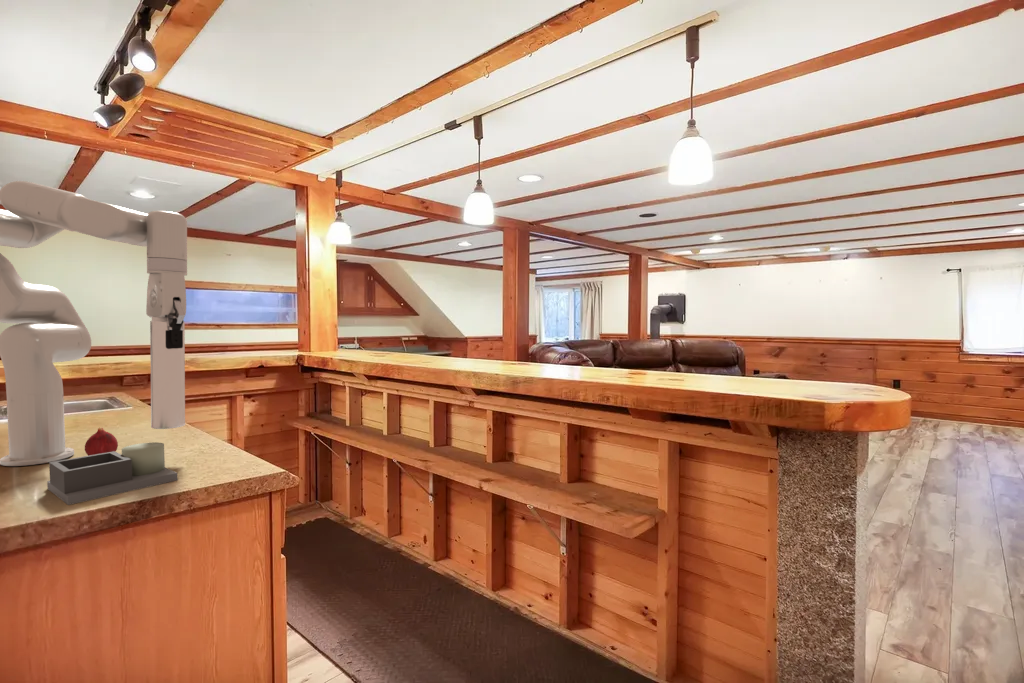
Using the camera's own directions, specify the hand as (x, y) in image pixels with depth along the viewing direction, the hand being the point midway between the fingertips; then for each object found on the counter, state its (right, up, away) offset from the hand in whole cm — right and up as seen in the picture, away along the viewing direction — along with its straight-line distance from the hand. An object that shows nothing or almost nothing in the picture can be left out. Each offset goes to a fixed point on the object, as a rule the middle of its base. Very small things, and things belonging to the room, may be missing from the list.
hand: (168, 346), depth 114 cm
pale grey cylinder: (0, -18, +1) cm, 18 cm away
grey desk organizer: (0, -27, -15) cm, 31 cm away
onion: (-15, -27, 0) cm, 31 cm away
